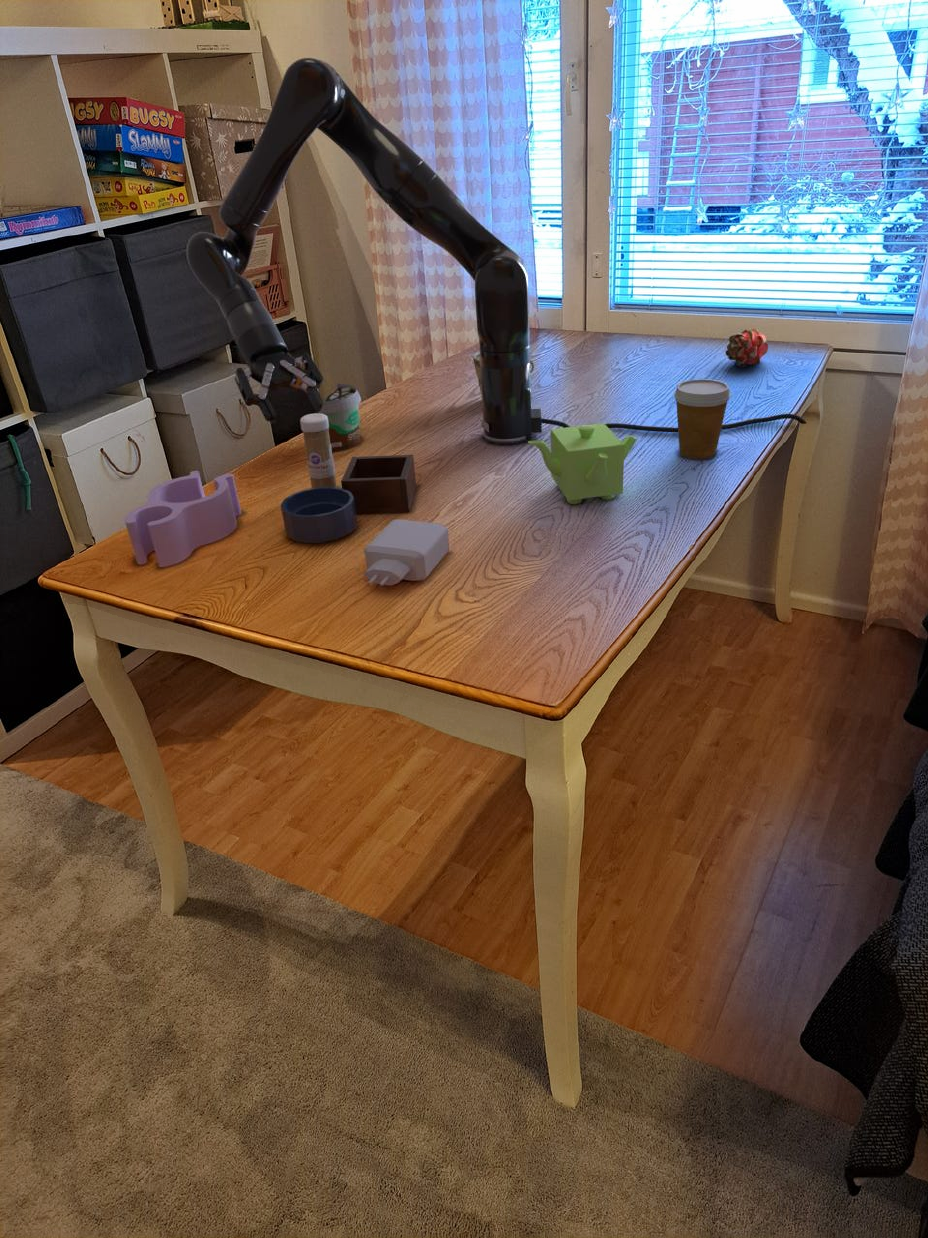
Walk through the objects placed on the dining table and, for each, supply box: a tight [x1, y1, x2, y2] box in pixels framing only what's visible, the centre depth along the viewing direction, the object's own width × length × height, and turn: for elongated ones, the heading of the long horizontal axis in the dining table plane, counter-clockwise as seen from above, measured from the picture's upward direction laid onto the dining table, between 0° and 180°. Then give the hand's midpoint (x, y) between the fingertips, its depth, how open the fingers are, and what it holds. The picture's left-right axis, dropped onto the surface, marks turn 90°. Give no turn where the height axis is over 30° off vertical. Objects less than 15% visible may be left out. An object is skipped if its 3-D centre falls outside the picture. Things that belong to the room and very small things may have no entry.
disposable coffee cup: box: [673, 378, 732, 460], centre depth 153 cm, size 10×10×12 cm
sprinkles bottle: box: [299, 412, 339, 488], centre depth 149 cm, size 5×5×14 cm
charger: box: [363, 518, 450, 587], centre depth 124 cm, size 5×9×15 cm
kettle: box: [527, 422, 638, 505], centre depth 142 cm, size 15×14×11 cm
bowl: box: [280, 486, 358, 544], centre depth 138 cm, size 11×11×5 cm
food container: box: [317, 383, 362, 452], centre depth 170 cm, size 12×6×10 cm, turn 168°
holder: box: [340, 454, 417, 515], centre depth 146 cm, size 10×10×6 cm
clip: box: [124, 470, 242, 568], centre depth 139 cm, size 20×12×7 cm, turn 161°
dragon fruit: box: [725, 328, 769, 368], centre depth 198 cm, size 8×8×12 cm
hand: (297, 415), depth 150 cm, fingers open, 8 cm apart
